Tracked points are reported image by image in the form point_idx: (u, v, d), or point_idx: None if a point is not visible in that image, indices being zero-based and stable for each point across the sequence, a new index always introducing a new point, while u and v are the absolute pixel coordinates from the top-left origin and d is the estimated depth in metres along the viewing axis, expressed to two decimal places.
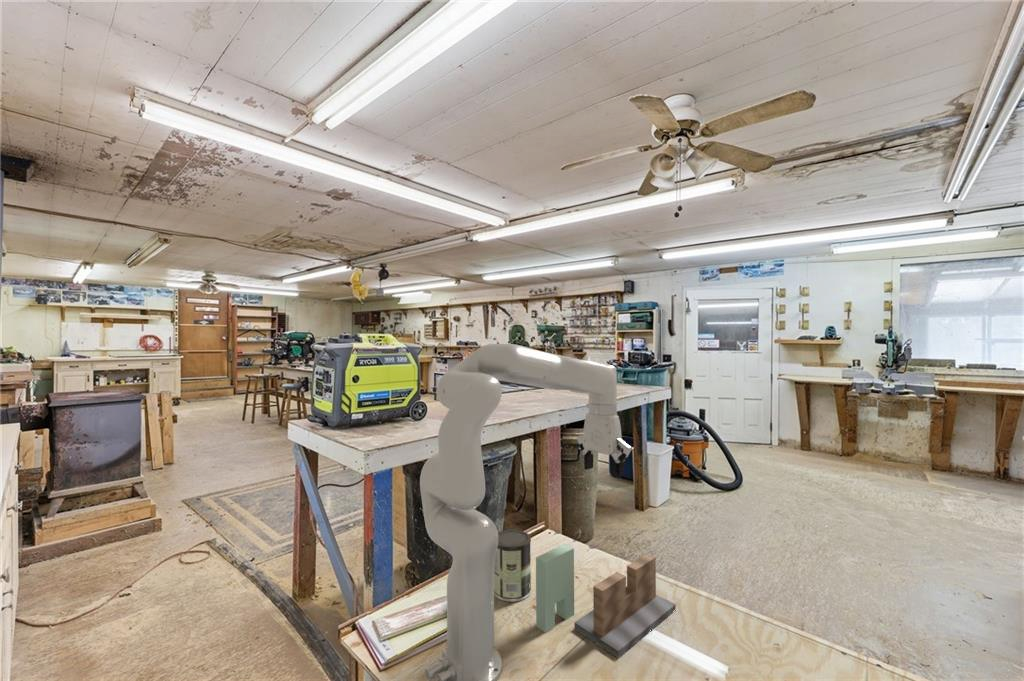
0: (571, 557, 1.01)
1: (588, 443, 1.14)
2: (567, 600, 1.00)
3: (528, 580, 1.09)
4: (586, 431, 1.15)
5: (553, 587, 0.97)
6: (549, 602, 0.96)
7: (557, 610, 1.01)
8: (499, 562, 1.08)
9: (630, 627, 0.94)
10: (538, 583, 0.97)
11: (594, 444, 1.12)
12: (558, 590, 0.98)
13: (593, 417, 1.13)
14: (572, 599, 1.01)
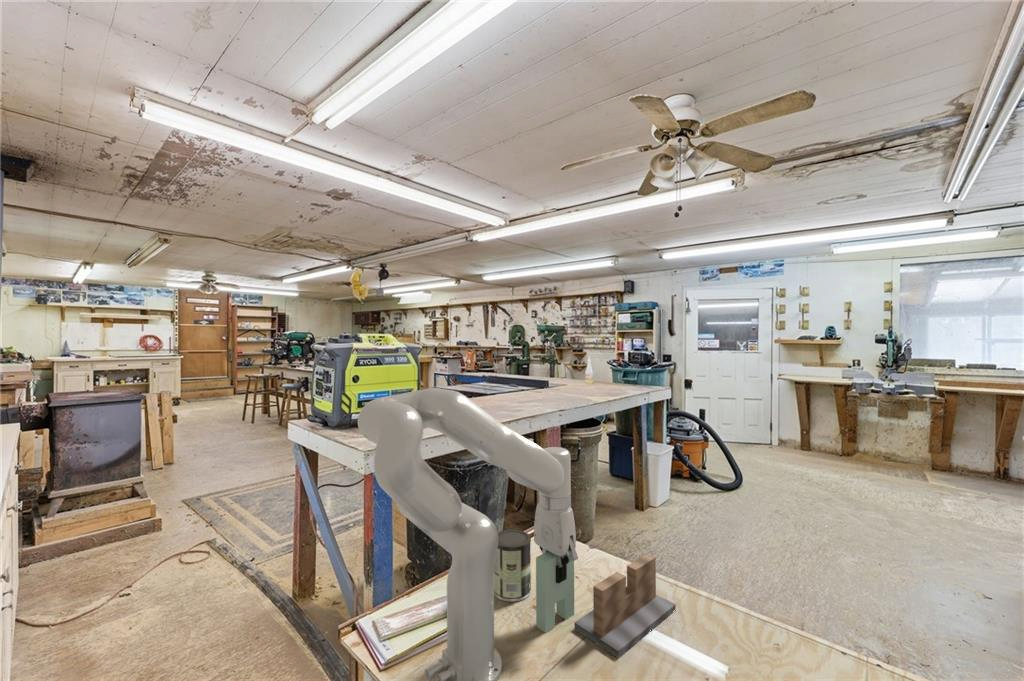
0: None
1: (539, 538, 1.00)
2: (567, 600, 1.00)
3: (528, 580, 1.09)
4: (537, 524, 1.00)
5: (553, 587, 0.97)
6: (549, 602, 0.96)
7: (557, 610, 1.01)
8: (499, 562, 1.08)
9: (630, 627, 0.94)
10: (538, 583, 0.97)
11: (545, 541, 0.98)
12: (558, 590, 0.98)
13: (544, 510, 0.99)
14: (572, 599, 1.01)
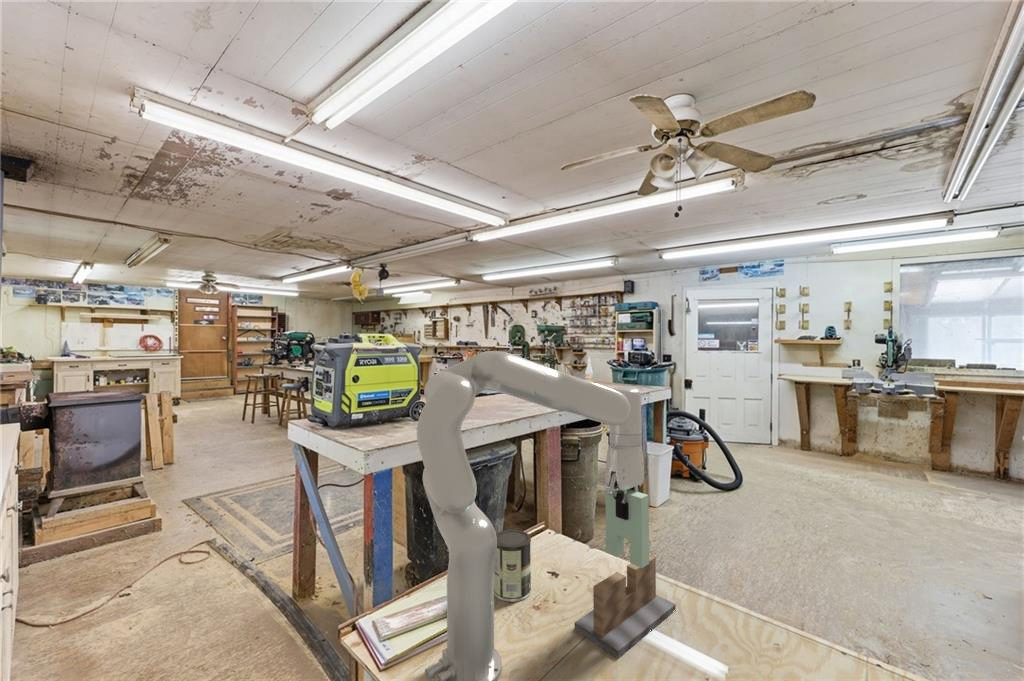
0: (637, 505, 0.96)
1: None
2: (632, 545, 0.97)
3: (528, 580, 1.09)
4: None
5: (614, 518, 1.01)
6: (610, 528, 1.02)
7: None
8: (499, 562, 1.08)
9: (630, 627, 0.94)
10: None
11: None
12: (620, 525, 0.99)
13: None
14: (639, 550, 0.96)
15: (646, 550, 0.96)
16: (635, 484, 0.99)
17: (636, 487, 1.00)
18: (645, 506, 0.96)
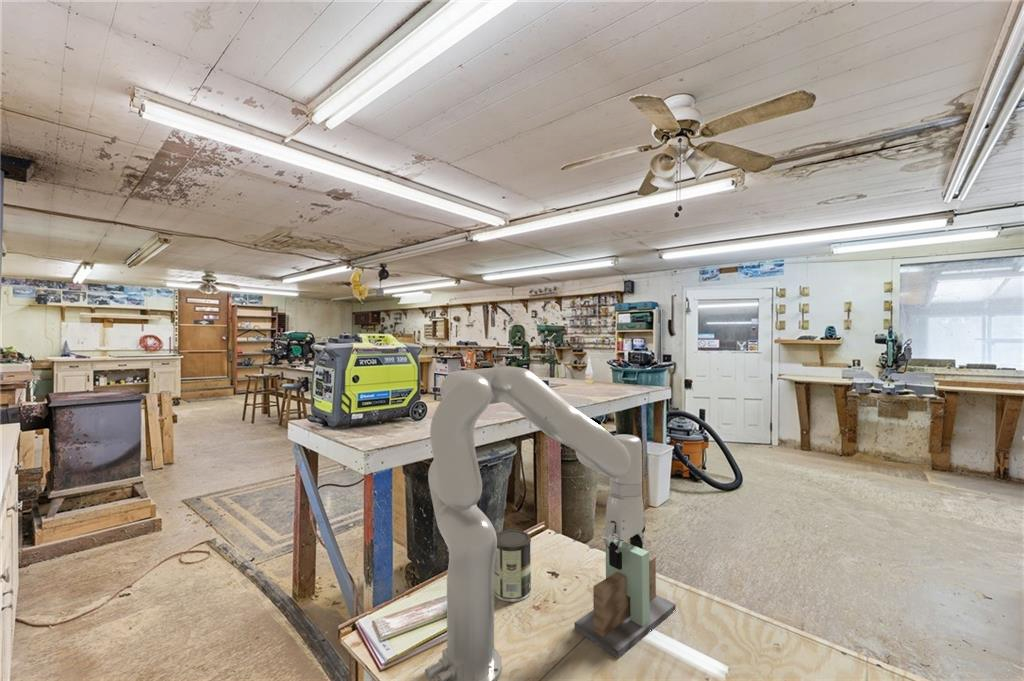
0: (638, 563, 0.95)
1: None
2: (633, 602, 0.96)
3: (528, 580, 1.09)
4: None
5: None
6: None
7: None
8: (499, 562, 1.08)
9: (630, 627, 0.94)
10: None
11: None
12: None
13: None
14: (640, 608, 0.95)
15: (647, 608, 0.96)
16: (635, 533, 0.99)
17: None
18: (646, 563, 0.96)
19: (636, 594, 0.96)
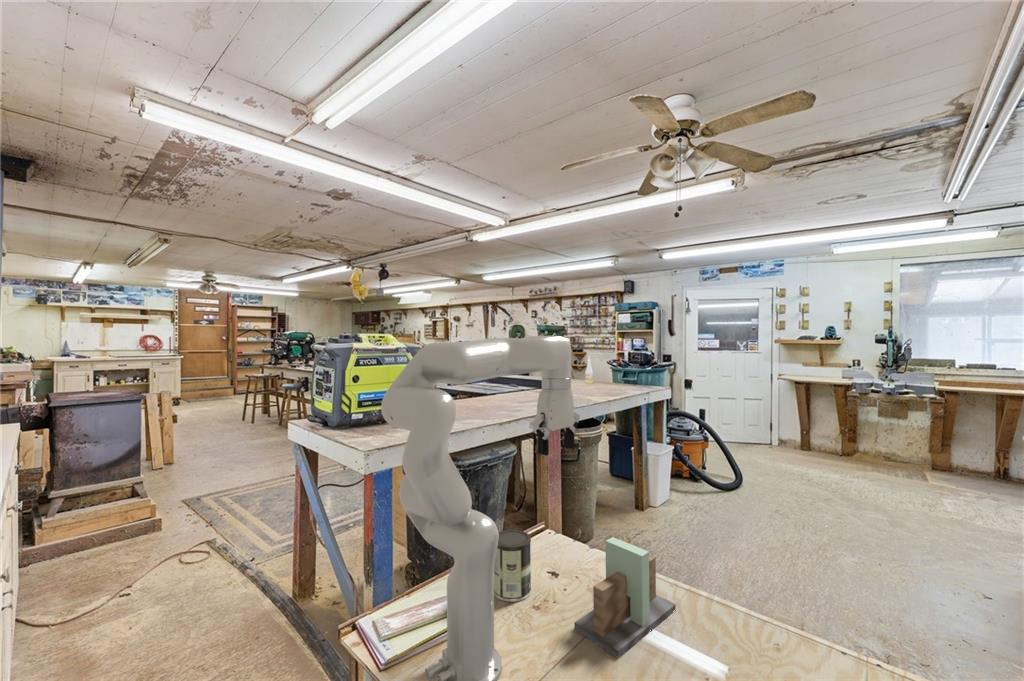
0: (638, 563, 0.95)
1: None
2: (633, 602, 0.96)
3: (528, 580, 1.09)
4: None
5: None
6: None
7: None
8: (499, 562, 1.08)
9: (630, 627, 0.94)
10: None
11: None
12: None
13: None
14: (640, 608, 0.95)
15: (647, 608, 0.96)
16: (564, 426, 1.06)
17: None
18: (646, 563, 0.96)
19: (636, 594, 0.96)
